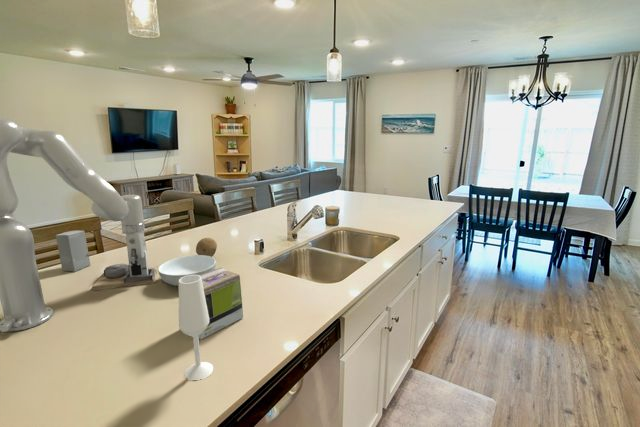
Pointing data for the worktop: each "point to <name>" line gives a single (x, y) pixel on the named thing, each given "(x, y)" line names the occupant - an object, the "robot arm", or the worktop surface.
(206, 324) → the champagne flute
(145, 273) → the skincare box
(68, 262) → the skincare box
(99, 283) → the board
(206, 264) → the serving bowl
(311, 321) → the worktop surface
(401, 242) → the worktop surface
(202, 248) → the natural sponge
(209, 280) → the tea box
